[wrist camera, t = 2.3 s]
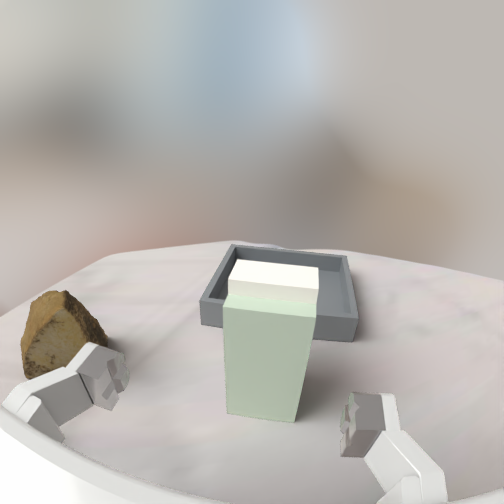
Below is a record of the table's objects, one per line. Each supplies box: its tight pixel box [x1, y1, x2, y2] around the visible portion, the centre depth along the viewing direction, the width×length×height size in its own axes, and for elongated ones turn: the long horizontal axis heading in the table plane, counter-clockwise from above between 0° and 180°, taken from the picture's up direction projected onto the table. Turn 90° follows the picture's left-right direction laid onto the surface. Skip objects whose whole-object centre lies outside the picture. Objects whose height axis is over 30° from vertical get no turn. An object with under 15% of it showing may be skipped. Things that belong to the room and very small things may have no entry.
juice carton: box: [223, 259, 319, 423], centre depth 25 cm, size 6×6×13 cm
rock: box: [21, 290, 108, 378], centre depth 28 cm, size 11×9×10 cm
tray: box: [199, 244, 359, 342], centre depth 42 cm, size 18×16×4 cm
